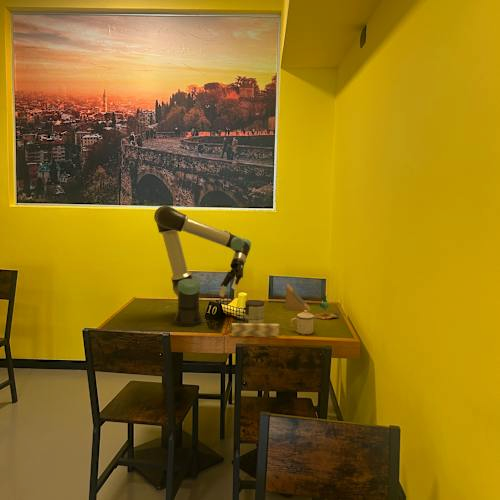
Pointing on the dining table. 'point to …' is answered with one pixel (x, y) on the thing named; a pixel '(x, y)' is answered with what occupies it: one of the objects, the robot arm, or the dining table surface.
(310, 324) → the teacup with lid
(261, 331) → the birch board
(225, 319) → the dining table surface
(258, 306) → the coffee can
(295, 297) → the sandwich container
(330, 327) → the dining table surface
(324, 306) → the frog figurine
